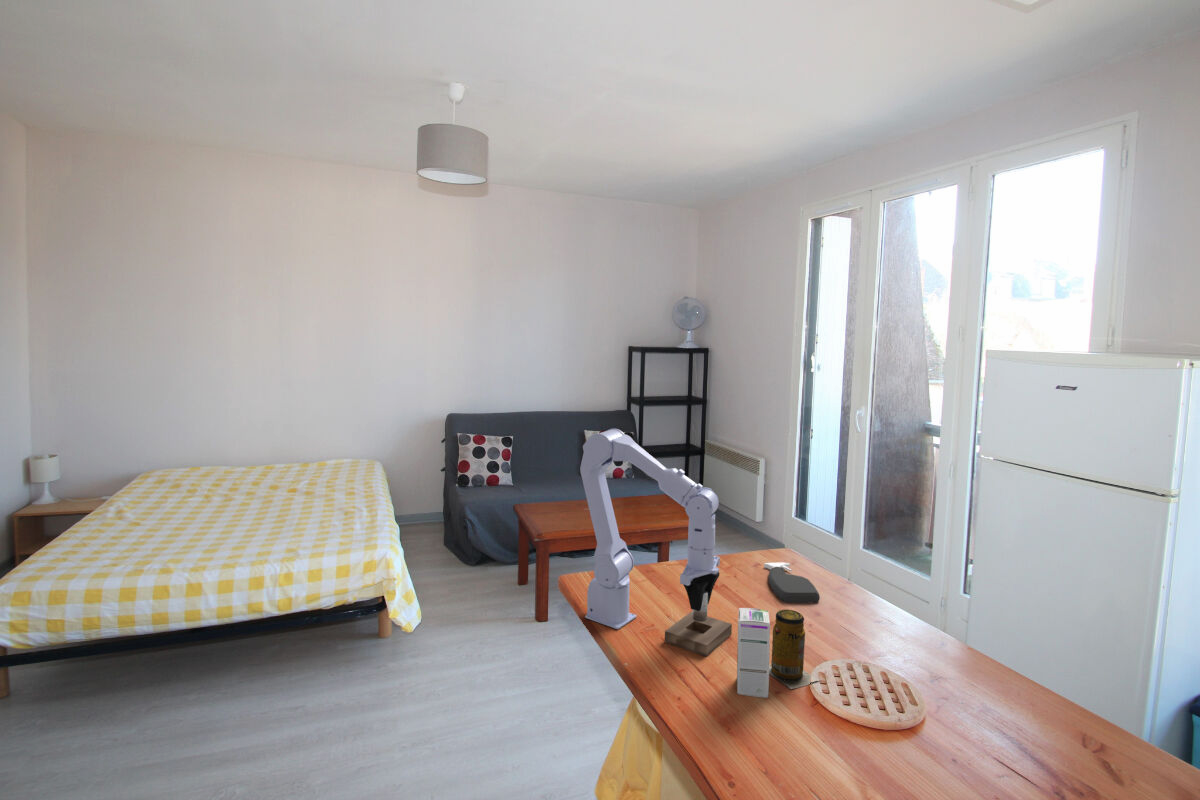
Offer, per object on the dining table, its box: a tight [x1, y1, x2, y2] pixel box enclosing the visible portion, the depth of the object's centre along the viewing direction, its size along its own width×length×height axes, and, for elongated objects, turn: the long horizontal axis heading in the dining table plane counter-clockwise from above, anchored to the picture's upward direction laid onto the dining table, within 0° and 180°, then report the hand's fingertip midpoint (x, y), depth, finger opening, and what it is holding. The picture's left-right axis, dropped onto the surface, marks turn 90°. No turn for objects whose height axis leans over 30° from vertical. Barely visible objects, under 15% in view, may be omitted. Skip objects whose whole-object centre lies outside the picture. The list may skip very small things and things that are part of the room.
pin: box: [692, 590, 709, 622], centre depth 135 cm, size 3×3×6 cm
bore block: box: [664, 611, 733, 658], centre depth 135 cm, size 10×12×2 cm
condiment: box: [769, 609, 812, 690], centre depth 121 cm, size 7×8×12 cm
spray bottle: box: [763, 561, 820, 604], centre depth 166 cm, size 3×11×24 cm
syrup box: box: [736, 607, 771, 699], centre depth 116 cm, size 6×6×14 cm
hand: (699, 606), depth 135 cm, fingers closed on pin, 3 cm apart
